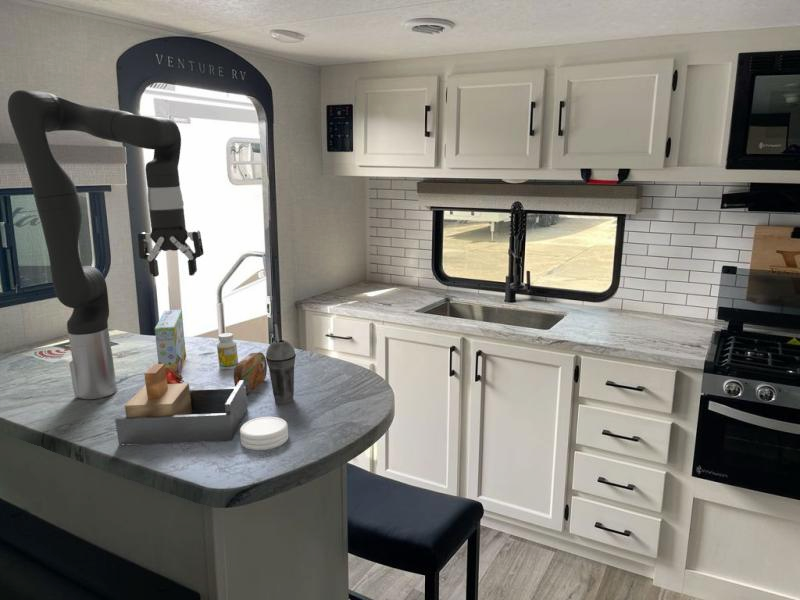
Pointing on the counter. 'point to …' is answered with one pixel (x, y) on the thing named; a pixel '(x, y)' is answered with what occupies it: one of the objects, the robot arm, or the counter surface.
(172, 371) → the dragon fruit
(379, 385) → the counter surface
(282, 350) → the beverage cup
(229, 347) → the supplement bottle
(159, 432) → the bay
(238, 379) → the tin
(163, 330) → the snack box
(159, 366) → the wooden block with upright
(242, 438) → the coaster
